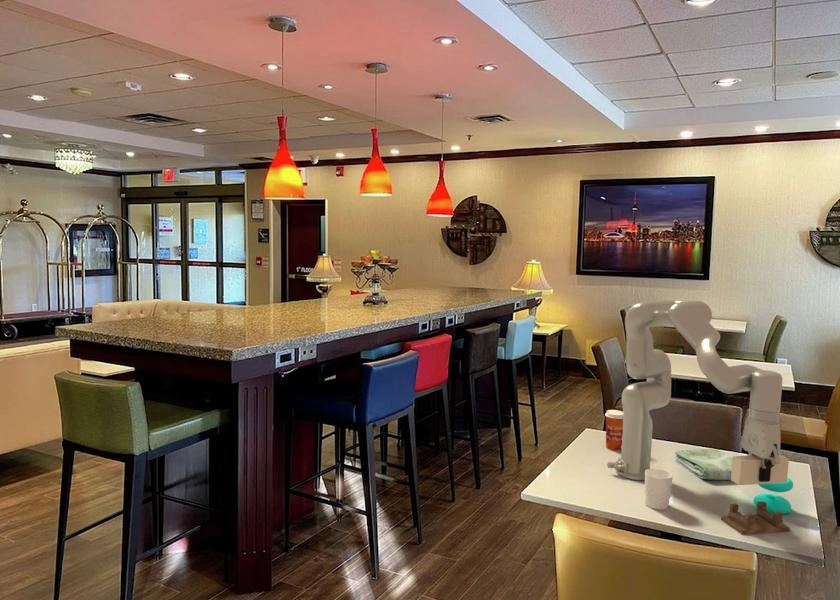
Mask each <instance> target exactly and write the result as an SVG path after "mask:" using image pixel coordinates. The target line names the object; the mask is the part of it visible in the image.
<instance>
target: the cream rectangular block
mask: <svg viewBox="0 0 840 600" xmlns="http://www.w3.org/2000/svg"><path fill="white" fill-rule="evenodd" d="M732 458H733V460H732V472H731V480H730V481H731V482H734V484H736V485H738V486H746V485H758V484H769V483H787V477H788V475H789V474H788V473H789V463H790V462H789V460H790V458H789V457H787V456H784V455H782V454H779V459H780V464H777V465H774V466H773V468H771V475H770V481H768V482H760V481H759V469H760V467H761V458H760V457H758V456H756V455H752V456H748V455H736V456H735V455H734V456H733V455H732ZM767 461H768V459H767V460H766V462H767Z"/></svg>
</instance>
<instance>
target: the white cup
mask: <svg viewBox="0 0 840 600" xmlns="http://www.w3.org/2000/svg"><path fill="white" fill-rule="evenodd" d="M673 476H674V475H673V474H672V473H671V472H670V471H668V470H665V469H661V468H650V469H647V470H645V480H644V504H645V506H646V507H648V508H651V509H654V510H661V511H662V510H667V509H668V508H669V506H670V499H671V491H672V485H673Z"/></svg>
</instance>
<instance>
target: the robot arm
mask: <svg viewBox="0 0 840 600" xmlns="http://www.w3.org/2000/svg"><path fill="white" fill-rule="evenodd" d="M712 318H713V313H712V309H711V308H710V306H709V305H708V304H707V303H705V301H701V300H675V299H666V300H648V301H642V302H638V303H636V304H633V305H632V306H631V307H630V308H629V309H628V310H627V312H626V314H625V318H624V326H625V327H624V328H625V333H626V334H625V335H626V336H625V337H626V344H625V345H626V355H625V357H626V358H625V359H626V371H627V374H628V376H629V377H630V378H632V379H634V380H645V379H646V381H640V382H634V383H631V384H629V385H627V386H626V387H625V388H624V389H623V391H622V393H621V404H622V412H623V436H622V447H621V456H620V457H619V458H618V459H617V460H616V461H615V462H614V461H613V462H612V461H608V462H607V464H606V466H607V468H608V469H614V470H615V472H616V474H617V475H619V476H621V477H623V478H625V479H628V480H629V479H630V480H633V481H645V470H647V469H651V457H652V456H651V455H652V444H653V443H652V442H653V426H654V425H653V419H652V417H651V414H650V411H651V410H656V409H660V408H664V407H666V406H667V405H668V404H669V403H670V401H671V396H672V363H671V360H670V358H669V356H668V354H667V353H666V352H665V351H664V350H661V349H658V348H654V337H653V334H652V332H651V330H650V328H653V327H667V326H668V327H669V326H673V327H674V328H675V329H676V330H677V331H678V332H679V333H680V334H681V336H682V337H683V338H684V339H685V340H686V342H687V343H688V344H689V345H691V348H693V349H694V351H695V353H696V361H697V363H698V367H699V368H700V369H699V370H700V371H701V372H702V374H703V375H704V376H705V377H706V379H707V380H708V381H709V382H710V383H711V384H712V386H714V387H715V388H716V389H717V390H718V391H720V393H721V392H722V393H724V394H727V395H728V394H729V395H730V394H731V395H732V394H737V393H743V392H744V393H745V392H750V396H749V407H748V408H749V409H748V415H747V417H746V418H745V421H744V425H743V430H742V438H741V447H742V449H743V450H744V451H745V452H746V454H747V455H746V456H752V455H756V456H758V457H760V458H761V467H760V469H759V481H760V482H768V481H770V475H771V468H773V466H774V465H777V464H780V459H779V454H780V451H781V442H782V441H781V438H782V437H781V425H780V414H781V413H780V412H781V404H782V403H781V401H782V393H783V392H782V390H783V380H784V379H783V375H782V374H780V373H779V372H778V371H777V372H776V371H773V370H765V369H761V368H759V367H757V366H753V365H749V364H739V365H731V366H729V365H728V364H727V363H726V362H725V361H724V360H723V359H722V358H721V356H720V355H719V353H718V352H717V348H716V346H717V345H718V343H719V342H720V340H721V334H720V332H719V331H718V330H717V329H716V328H715V327H714V326H713V324H712V323H710V322H711V321H712ZM780 455H781V454H780ZM767 459H768V461H767V462H766V460H767Z"/></svg>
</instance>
